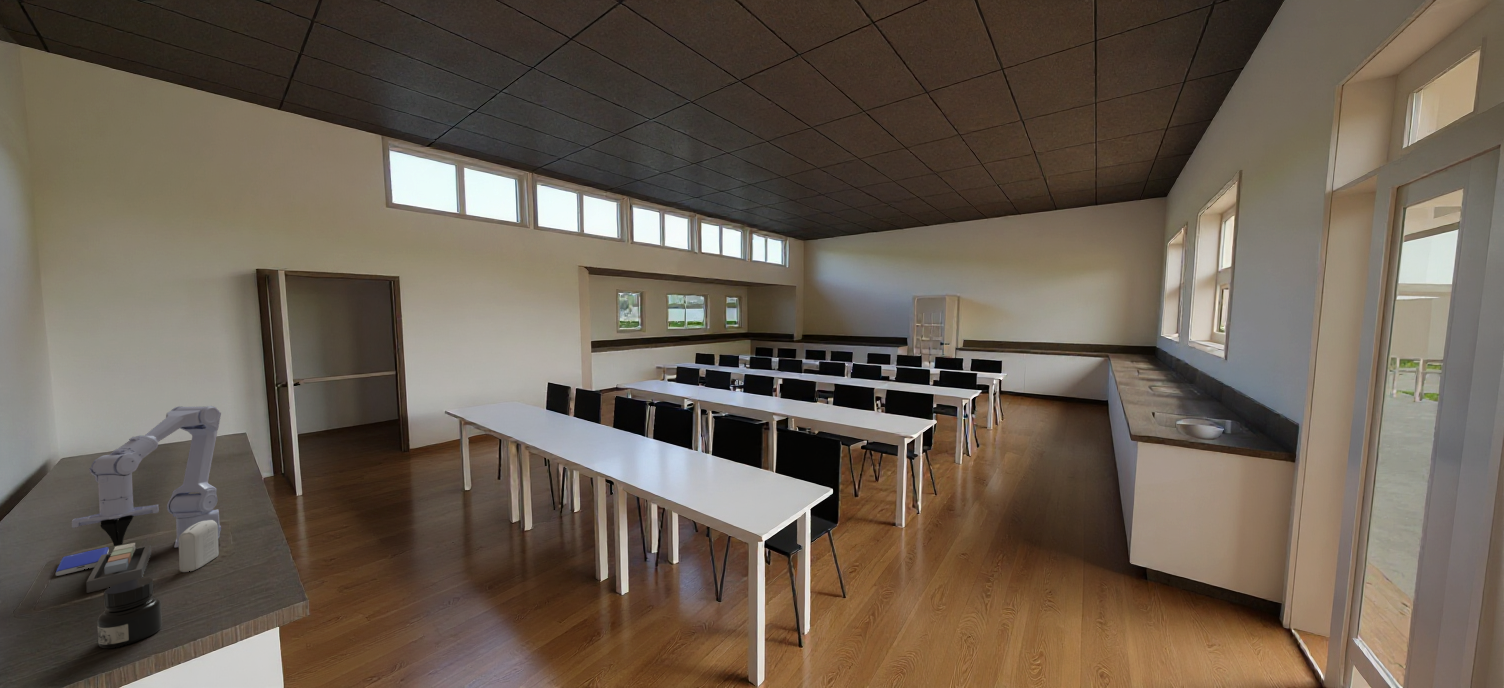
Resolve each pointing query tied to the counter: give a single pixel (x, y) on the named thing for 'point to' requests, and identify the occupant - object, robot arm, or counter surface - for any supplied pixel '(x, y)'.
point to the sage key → (122, 552)
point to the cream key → (125, 547)
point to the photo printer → (198, 545)
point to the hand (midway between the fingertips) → (118, 544)
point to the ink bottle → (129, 613)
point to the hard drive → (80, 561)
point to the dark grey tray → (133, 572)
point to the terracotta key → (120, 557)
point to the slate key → (116, 566)
